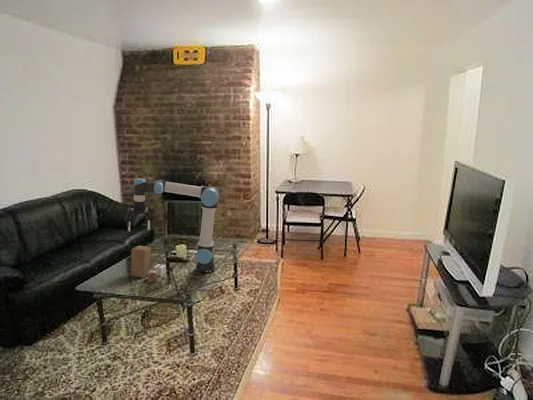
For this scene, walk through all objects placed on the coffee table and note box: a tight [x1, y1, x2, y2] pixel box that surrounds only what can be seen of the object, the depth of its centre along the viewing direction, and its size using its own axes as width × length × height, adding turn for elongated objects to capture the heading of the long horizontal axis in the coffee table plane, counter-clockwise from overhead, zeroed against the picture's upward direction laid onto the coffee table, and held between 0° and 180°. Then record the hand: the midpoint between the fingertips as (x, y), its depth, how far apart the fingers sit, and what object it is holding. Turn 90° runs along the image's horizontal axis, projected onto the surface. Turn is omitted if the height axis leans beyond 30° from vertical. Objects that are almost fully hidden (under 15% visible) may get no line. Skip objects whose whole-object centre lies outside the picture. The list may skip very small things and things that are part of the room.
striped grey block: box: [153, 263, 167, 277], centre depth 267 cm, size 6×7×6 cm
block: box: [130, 245, 152, 279], centre depth 261 cm, size 10×10×20 cm
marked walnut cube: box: [147, 269, 159, 283], centre depth 255 cm, size 6×6×6 cm
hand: (139, 230), depth 262 cm, fingers open, 13 cm apart
